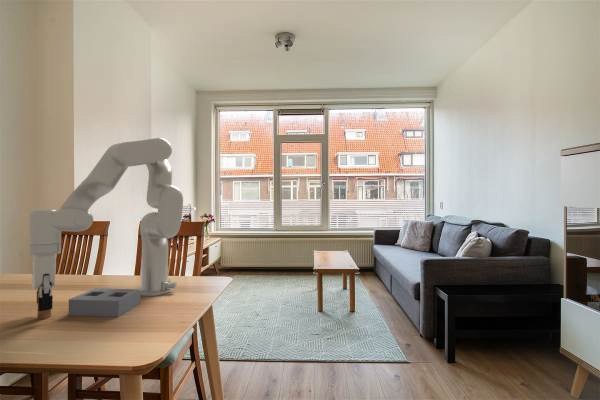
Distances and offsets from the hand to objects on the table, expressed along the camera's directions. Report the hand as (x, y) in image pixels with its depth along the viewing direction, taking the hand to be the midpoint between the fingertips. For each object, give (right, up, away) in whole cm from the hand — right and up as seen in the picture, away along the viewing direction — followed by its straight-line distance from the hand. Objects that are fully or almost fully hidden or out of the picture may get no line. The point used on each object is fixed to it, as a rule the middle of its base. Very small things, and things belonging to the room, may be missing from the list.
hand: (44, 305), depth 93 cm
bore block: (+14, -4, +8) cm, 17 cm away
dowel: (0, -4, 0) cm, 4 cm away
